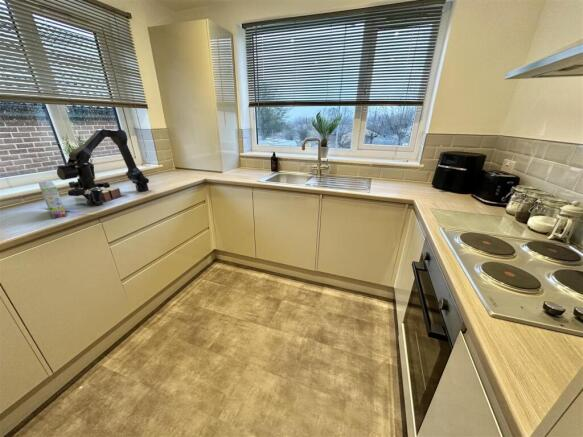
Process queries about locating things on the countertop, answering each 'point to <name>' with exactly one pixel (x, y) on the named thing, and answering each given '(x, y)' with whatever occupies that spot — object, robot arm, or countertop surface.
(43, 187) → the snack box
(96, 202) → the knife
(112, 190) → the sheet cake
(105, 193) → the cake slice
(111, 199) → the cake board
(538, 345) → the countertop surface
